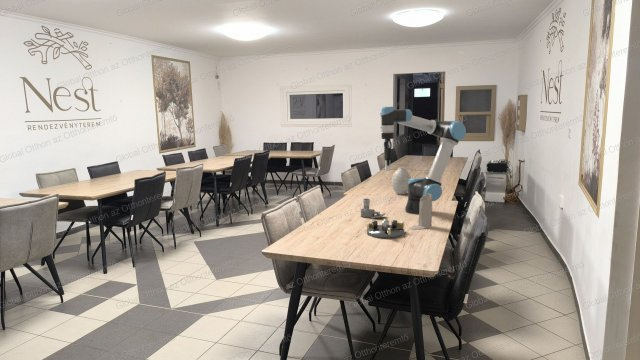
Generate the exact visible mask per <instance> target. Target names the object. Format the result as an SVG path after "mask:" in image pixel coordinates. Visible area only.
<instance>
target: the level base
mask: <svg viewBox="0 0 640 360" xmlns="http://www.w3.org/2000/svg"><path fill="white" fill-rule="evenodd" d="M385 225H390V230H391V234H390V235H388V234H387V233H385ZM391 226H392V224H390V220H388V218H383V220H381V224H378V228H377V229H373V228H372V229H367V228H366V234H367V235H368V236H370V237H372V238H377V239H383V240H384V239H398V238H401V237H404V235H405V228H403V229H402V228H391Z"/></svg>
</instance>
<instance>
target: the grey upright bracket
mask: <svg viewBox="0 0 640 360" xmlns="http://www.w3.org/2000/svg"><path fill="white" fill-rule="evenodd" d="M432 212H433V201H432V195H431V194H429V193H426V195H423V197H422V198H420V211H419V214H418V224H417V225H413V226H411V227H409V229H411V230H425V228H426V229H431V228H432V227H433V226H432V221H433V219H432V218H433V216H432V215H433V213H432ZM430 227H431V228H430Z"/></svg>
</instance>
